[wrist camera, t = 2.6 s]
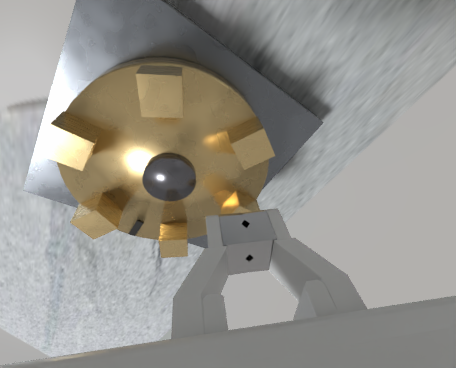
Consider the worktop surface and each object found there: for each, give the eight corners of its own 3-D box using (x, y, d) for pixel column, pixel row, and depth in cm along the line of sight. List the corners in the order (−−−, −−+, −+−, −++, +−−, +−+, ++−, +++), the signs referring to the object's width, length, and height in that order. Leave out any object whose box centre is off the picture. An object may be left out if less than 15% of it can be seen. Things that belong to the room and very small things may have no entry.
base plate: (99, -50, 18) (89, -54, 16) (316, 115, 29) (324, 123, 27) (31, 179, 29) (22, 191, 27) (206, 238, 39) (207, 250, 38)
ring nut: (109, -1, 18) (85, 2, 14) (299, 129, 27) (320, 156, 22) (46, 186, 27) (20, 223, 23) (203, 238, 36) (205, 272, 32)
